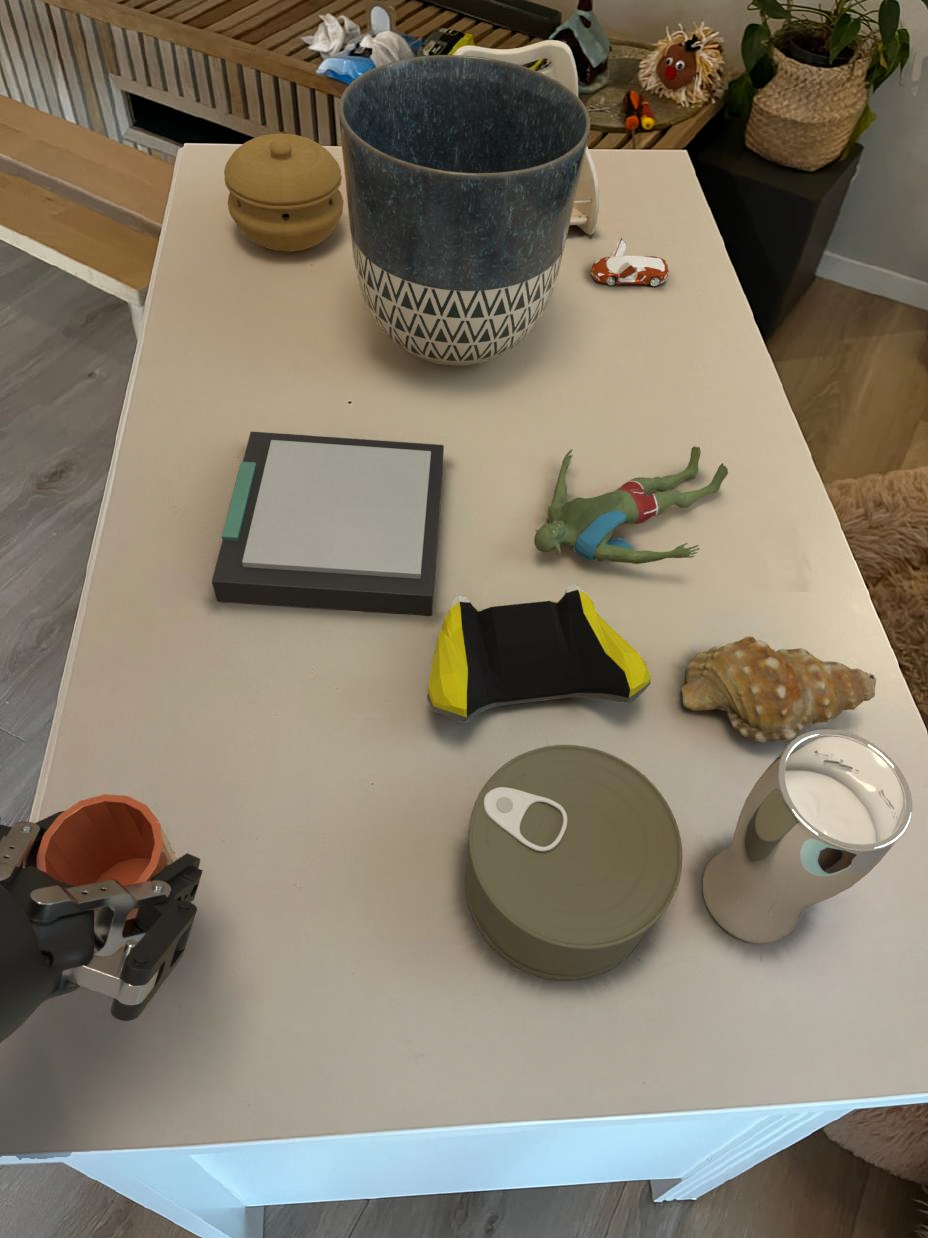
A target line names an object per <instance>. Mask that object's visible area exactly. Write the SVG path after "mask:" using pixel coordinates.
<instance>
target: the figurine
mask: <svg viewBox="0 0 928 1238" xmlns="http://www.w3.org/2000/svg"><path fill="white" fill-rule="evenodd" d="M572 452H573V448H571V449H570V450H568V451H567V453H566V454H565V456H564V457H563V459H562V463H561V467H560V469H559V474H558V477H557V481H556V484H555V487H554V492H553V498H552V500H551V503H550V505H549V506H548V507H547V508H548V509H547V517H548V521H549V523H545V524H542V526H540V528H539V529H535V534H534V538H533V543H534V546H535V548H536V549H537V550H538V551H539V552H540V553H544V554H545V553H546V554H548V553H551V552H553V551H555V550H557V551H558V553H559V554H561V546H560V545H562V544H563V545H565V544H566V545H568V546H571V547H572V548H573V551H574V553H575V554H576V555H577V557H580V558H581V559H584V560H586V561H588V562H594V561H596V560H597V561H599V562H603V561H608V562H612V563H613V562H614V563H624V564H625V563H626V564H633V565H634V564H635V565H640V564H646V563H652V562H657V561H658V562H659V561H662V560H664V559H683V558H686V559H690V558H694V557H695V556H696V554H698V553H699V552H698V551H699V550H701V548H700V547H699V546H700V545H699V544H696V545H694V546H690V547H685V546H686V545H688V544H689V543H688V542H686V543H683V544H681V545H678V546H676V547H675V548H673V549H672V550H668V551H653V550H636V549H635V550H634V548H633V546H632V545H631V544H630V543H629V542H628V541H627V540H626V539H624V538H617V537H616V538H612V536H613V531H614V529H615V528H616V527H617V526H619V525H621V524H627V525H638V524H643V523H645V522H646V521H649V519H651V518H652V517H658V516H660V515H662V514H664V513H666V512H667V511H668V509H670V508H671V507H672V506H676V507H678V508H681V509H688V508H689V507H691V506H692V505H693V504H694V503H696V502H698V501H699V500H700V499H702V498H704V497H707V496H709V495H711V494H717V493H718V492H719V491H720V489H721V486H722V483H723V481H724V480H725V479H726V478H727V476H728V474H729V470H728V467H727V466H726V465H724V462H722V463H721V464H720V465H719V466H718V468H717V470H716V472H715V474H714V476H713V477H712V479H711V482H710V483H709V484H707V485H705V486H704V487H702V488H700V489H696V490H691V491H684V492H682V491H680V490H679V489H674V490H671V489H672V488H673V487H674V486H676V485H678V484H679V483H680V482H682V481H684V480H687V479H694V478H696V476H697V475H698V472H699V461H700V458H701V453H702V451H701V447H700V446H696V445H695V446H692V447H691V451H690V458H689V461H688V464H687V466H686V468H685V469H684V470H682V471H681V472H679V473H676V474H672V475H671V474H670V475H665V476H663V477H661V476H654V477H641V476H640V477H634V478H632V479H630V480H628V481H626V482H625V483H623V484H622V485H621V486H620V487H617V488H616V489H615V490H613V491H609V492H606V493H603V494H600V495H597V496H593V497H587V498H586V497H581V496H580V497H574V498H573V499H571V500H569V501H568V500H567V493H568V487H567V483H566V473H567V470H568V467H569V464H570V462H571V460H572V458H573V454H572ZM654 491H656V492H654ZM652 492H653V493H652ZM650 493H651V494H650ZM649 494H650V495H649ZM611 538H612V539H611Z"/></svg>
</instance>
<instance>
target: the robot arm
mask: <svg viewBox="0 0 928 1238" xmlns="http://www.w3.org/2000/svg"><path fill="white" fill-rule="evenodd" d="M65 811H66V810H60V811H57V812H55V813H54V814H52V815H49V816H47V817H45V818H42V819H40V820H38V821H36V822H32V821H27V820H24V821H18V822H15V823H14V824H13V826H9V825H5V824H1V823H0V1044H2V1043H3V1042H4V1041H5V1040H7V1039H9V1037H10V1036H12V1035H13V1034H14V1033H15V1032H17V1030H18V1029H19V1028H20V1027H22V1026H23V1025H24V1023H25V1022H26V1021H27V1020H28V1019H29V1018H30V1017H31V1016H32V1015H33V1013H35V1011H36V1010H37V1009H38V1008H39V1007H40V1006H41V1005H42V1004H43V1003H44V1002H46V1001H48V1000H50V999H53V998H56V997H60V996H65V995H68V994H72V993H73V992H75V991H77V990H78V989H80V988H81V987H82V988H85V989H88V990H90V991H93V992H96V993H99V994H102V995H104V996H107V997H110V998H112V1003H111V1006H110V1011H109V1012H110V1015H111V1016H112V1017H113V1018H114V1019H116V1020H118V1021H121V1022H132V1021H134V1020H136V1019H138V1018H139V1017H140V1016H141V1015H142V1013H143V1011H144V1010H145V1009H146V1008H147V1006H148V1005H149V1003H150V1002H151V1001H152V999H153V998H154V997H155V995H156V994H157V992H158V991H159V990H160V989H161V987H162V986H163V984H164V983H165V982H166V980H167V979H168V978H169V976H170V975H171V973H172V972H173V971H174V970H175V968H177V965H178V964H179V963H180V962H181V960H182V959H183V957H184V954H185V951H186V948H187V946H188V942H189V938H190V935H191V932H192V928H193V925H194V921H195V918H196V916H197V912H198V907H197V906H196V905H195V904H194V903H192V902H194V901H195V898H196V896H197V895H196V894H197V891H198V888H199V884H200V881H201V878H202V875H203V871H204V870H203V869H201V868H200V864H201V859H200V858H199V857H197V856H195V855H193V854H191V853H184V854H183V855H182V856H181V857H179V858H177V860H176V861H175V862H173V863H172V864H170V865H169V866H167V867H166V868H164V869H163V870H162V871H160V872H159V873H158V874H156V875H155V876H153V877H152V879H151V881H147V882H142V883H137V884H132V885H127V886H122V885H121V884H120V883H119V882H118V881H117V880H115V879H111V880H106V881H101V882H96V883H91V884H86V885H80V886H74V885H70V884H67V883H63V882H60V881H57V880H55V879H54V878H52V877H51V876H49V875H48V874H47V873H45V872H44V871H41V870H39V869H37V863H36V856H37V853H38V850H39V847H40V844H41V841H42V838H43V835H44V833H45V832H46V831H47V830H48V828H49V827H50V826H51V825H52V823H53V822H54V821H55V820H56V818H57V817H58V816H59V815H60V814H61V813H63V812H65ZM1 819H2V818H1V816H0V821H1ZM135 908H138V912H137V915H136V918H133V919H129V920H126V918H127V915H128V913H129V912H130V911H131V910H133V909H135ZM94 909H98V911H97V914H96V918H95V921H94ZM123 946H125V948H124V950H119V949H120V948H121V947H123ZM118 950H119V951H118Z"/></svg>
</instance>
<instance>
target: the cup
mask: <svg viewBox="0 0 928 1238" xmlns="http://www.w3.org/2000/svg"><path fill="white" fill-rule="evenodd" d="M64 811H65V812H63V813H61V814H60V815H59V816H58V817H57V818H56V820H55V821H54V822H53V823H52V825H51V826H50V827H49V828H48V830H47V831H46V832H45V833H44V835H43V838H42V841H41V844H40V847H39V850H38V853H37V856H36V863H37V869H39V870H41V871H44V872H45V873H47V874H48V875H49V876H51V877H52V878H54V879H55V880H57V881H60V882H63V883H67V884H70V885H74V886H80V885H86V884H91V883H96V882H101V881H106V880H111V879H115V880H117V881H118V882H119V883H120V884H121V885H122V886H127V885H132V884H137V883H142V882H147V881H151V879H152V877H153V876H155V875H156V874H158V873H159V872H160V871H162V870H163V869H164V868H166V867H167V866H169V865H170V864H172V863H173V862H175V861H176V860H177V859H178V857H177V856H176V854H175V852H174V849H173V848H172V846H171V843H170V841H169V840H168V837H167V835H166V833H165V831H164V829H163V827H162V825H161V823H160V820H159V819H158V818H157V817H156V815H155V814H154V812H152V810H151V809H150V807H149V806H148V805H147V804H145V803H144V802H141V801H140V800H137V799H135V798H133V797H131V796H129V795H128V796H127V795H122V794H121V795H120V794H105V793H104V794H101V795H97V796H93V797H90V798H86V799H82V800H80V801H78V802H76V803H75V804H73V805H72V806H70V807H69V808H68V809H66V810H64ZM97 911H98V909H94V921H95V918H96V914H97ZM137 912H138V908H135V909H133V910H131V911H130V912H129V913H128V915H127V918H126V920H129V919H133V918H136V915H137ZM124 948H125V946H123V947H121V948H120V949H119V950H124ZM119 950H118V951H119Z"/></svg>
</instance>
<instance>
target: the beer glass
mask: <svg viewBox="0 0 928 1238" xmlns="http://www.w3.org/2000/svg"><path fill="white" fill-rule="evenodd" d="M908 783H909V782H908V781H907V779H906V777H905V775H904V774H903V772H902V770H901V769H900V767H899V766H898V764H896V763H895V761H894V760H893V759H892V758H891V757H890V756H889V755H888V753H886V752H885V751H884V750H883V749H881V748H880V747H879V746H877V745H876V744H874V743H873V742H871V741H869V740H868V739H866V738H864V737H862V736H859V735H858V734H854V733H851V732H848V731H845V730H840V729H831V728H826V729H825V728H823V729H816V730H811V731H808V732H805V733H802V734H801V735H798V736H797V737H795V738H793V739H792V741H791V742H789V743H788V745H787V746H786V747H785V749H784V750H783V752H781V753H780V754H779V755H778V757H776V758H775V759H774V761H772V763H771V764H770V765H769V766H768V767H766V770H764V772H763V773H762V774H761V776H759V778H758V779H757V780H756V782H755V783H754V785H753V787H752V789H750V791H749V794H748V795H747V796H746V799H745V801H744V802H743V803H744V804H743V805H742V808H741V810H740V813H739V816H738V820H737V822H736V826H735V830H734V833H733V837H732V840H731V843H730V845H729V846H727V847H725V848H724V849H722V850H721V851H719V852H718V853H717V854H715V855H714V856H713V857H712V858H711V859H710V861H709V862H708V864H707V865H706V867H705V869H704V873H703V875H702V883H701V884H702V885H701V886H702V888H701V889H702V896H703V899H704V903H705V905H706V907H707V910H708V912H709V913H710V915H711V917H712V918H713V920H714V921H715V922H716V923H717V925H719V926H720V927H721V928H722V929H723V930H724V931H725V932H727V933H728V934H729V935H731V936H733V937H735V938H737V939H739V940H741V941H744V942H747V943H750V944H762V945H763V944H770V943H774V942H778V941H780V940H782V939H783V938H785V937H786V936H788V935H789V934H790V933H791V932H793V930H794V929H795V927H796V926H797V924H798V923H799V920H800V919H801V916H802V914H803V912H804V910H805V909H806V908H809V907H811V906H813V905H816V904H819V903H822V902H824V901H827V900H828V899H831V898H833V897H835V896H837V895H839V894H841V893H843V892H844V891H846V890H848V889H850V888H852V887H853V886H855V885H856V884H857V883H858V882H859V881H861V880H862V879H863V878H865V877H866V876H867V875H868V874H869V873H870V872H871V871H872V870H873V869H874V868H875V867H876V866H877V865H878V864H880V862H881V861H882V860H883V858H884V857H885V856H886V854H887V853H889V851H890V850H891V848H893V846H894V845H895V844H896V842H897V841H898V840H900V839H901V838H902V837H903V835H904V834H905V833H906V831H907V830H908V827H909V826H910V823H911V821H912V815H913V797H912V793H911V790H910V786H909V784H908Z"/></svg>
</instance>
